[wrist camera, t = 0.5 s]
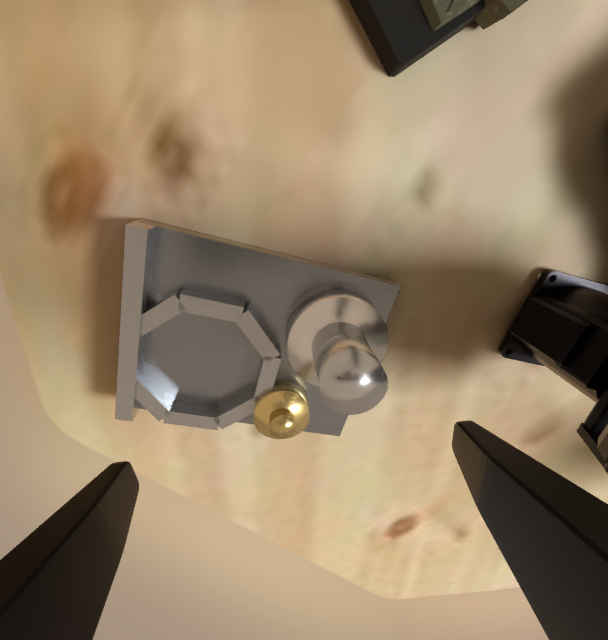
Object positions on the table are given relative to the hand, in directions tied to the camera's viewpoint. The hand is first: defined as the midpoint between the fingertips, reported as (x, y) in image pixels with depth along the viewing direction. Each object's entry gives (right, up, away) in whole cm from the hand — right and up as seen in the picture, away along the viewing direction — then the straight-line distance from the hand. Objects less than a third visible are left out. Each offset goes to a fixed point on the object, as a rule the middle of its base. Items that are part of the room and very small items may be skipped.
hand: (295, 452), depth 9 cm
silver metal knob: (+2, +3, +11) cm, 12 cm away
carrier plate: (-3, +2, +12) cm, 13 cm away
